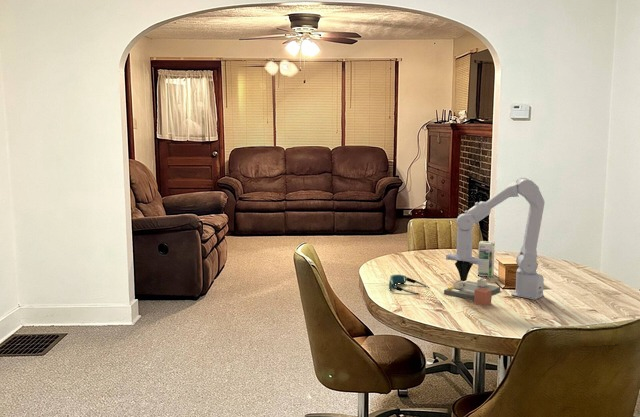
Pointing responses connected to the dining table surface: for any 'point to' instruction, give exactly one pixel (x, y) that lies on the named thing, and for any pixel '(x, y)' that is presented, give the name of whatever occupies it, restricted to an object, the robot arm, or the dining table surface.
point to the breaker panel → (469, 290)
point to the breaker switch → (482, 282)
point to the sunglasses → (400, 279)
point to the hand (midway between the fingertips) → (463, 280)
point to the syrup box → (486, 258)
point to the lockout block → (482, 296)
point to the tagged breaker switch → (458, 284)
